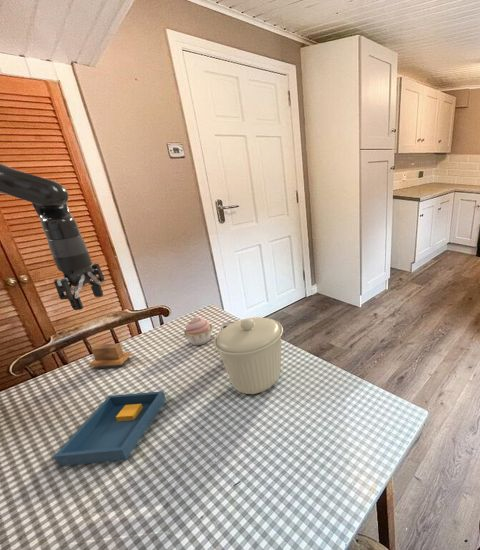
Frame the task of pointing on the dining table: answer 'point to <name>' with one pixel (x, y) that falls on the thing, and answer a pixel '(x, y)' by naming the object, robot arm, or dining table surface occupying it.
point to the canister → (251, 353)
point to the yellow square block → (129, 412)
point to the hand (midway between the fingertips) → (89, 302)
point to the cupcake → (198, 331)
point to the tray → (110, 431)
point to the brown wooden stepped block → (109, 356)
